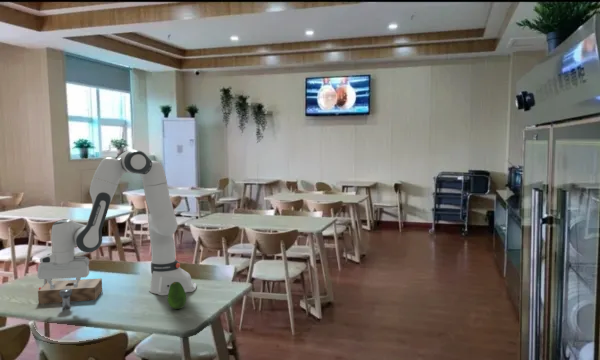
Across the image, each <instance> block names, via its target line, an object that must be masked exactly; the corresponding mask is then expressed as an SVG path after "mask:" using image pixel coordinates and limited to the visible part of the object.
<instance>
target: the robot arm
mask: <svg viewBox="0 0 600 360" xmlns="http://www.w3.org/2000/svg"><path fill="white" fill-rule="evenodd" d="M126 173H127V174H135V175H136V174H138V175H139V176H140V177H141V180H142V185H143V192H144V196H145V202H146V205H147V207H148V211H149V216H148V218H147V219H148V220H147V222H148V233H149V239H150V240H149V241H150V248H151V261H150V262H151V263H150V273H151V277H150V278H151V280H150V285H149V292H150V293H151V294H157V295H159V296H168V293H169V288H170V285H171V284H172V283H173V282H179V283H180V284H181V285H182V287H183V289H184V291H185V293H186V294H187V293H191V292H192V293H193V292H194V291H196V289H197V283H196V282H194V281H192V277H191V274H190V272H187V271H186V270H185V269H183V268H181V262H180V260H176V247H175V246H176V245H175V241H174V240H175V239H174V235H173V234H174V233H176V231H177V229H178V221H177V218H176V214H175V211H174V210H175V209H174V206H173V203H172V200H171V197H170V191H169V187H168V186H169V185H168V181H167V176H166V173H165V170H164V166H163V165H162V163H161V162H160V161H157V160H151V159H150V158H149V157H148V155H147V154H146V153H145V152H143V151H142V150H139V149H127V150H125V151H122V152H121V153H119V155H117V156H116V157H111V156H109V157H104V158H102V159H101V161H100V162H99V165H98V166H97V167H96V169H95V172H94V174H93V176H92V178H91V179H92V180H91V182H90V185H89V186H90V187H89V195H90V198H91V203H92V205H91V206H92V207H91V211H90V214H89V217H88V220H87V222H86V224H82V223H79V222H77V221H74V220H73V219H71V218H65V219H59V220H57V221H55V222H54V223H53V224H52V227H51V233H50V234H51V235H50V236H51V243H52V248H51V253H47V254H44V255H43V256H42V257H40V258H39V262H40V263H39V265H38V267H37V278H38V279H39V280H44V279H47V283H49V285H50V289H52V288H55V284H53V283H52V281H53V279H55V280H56V279H74V278H75V280H77V282H76V283H74V284H73V285H74V286H73V287H74V288H76V287H78V282H79V281H80V280H82V278H87V277H88V276H89V274H90V266H89V265H90V258H89V257H87V256H85V255H82V256H80V255H78V256H77V255H76V254H75V253H76V251H75V249H76V247H77V248H78V250H80V251H81V252H83V253H93V252H96V251H97V250H98V249H100V247H101V245H102V243H103V233H102V232H103V227H104V224H105V221H106V218H107V217H106V216H107V214H108V211H109V207H110V205H111V203H112V201H113V198H114V195H116V194H115V193H116V191H117V190H118V189H117V188H118V186H119V183H120V180H121V178H122V176H124V174H126Z"/></svg>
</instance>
